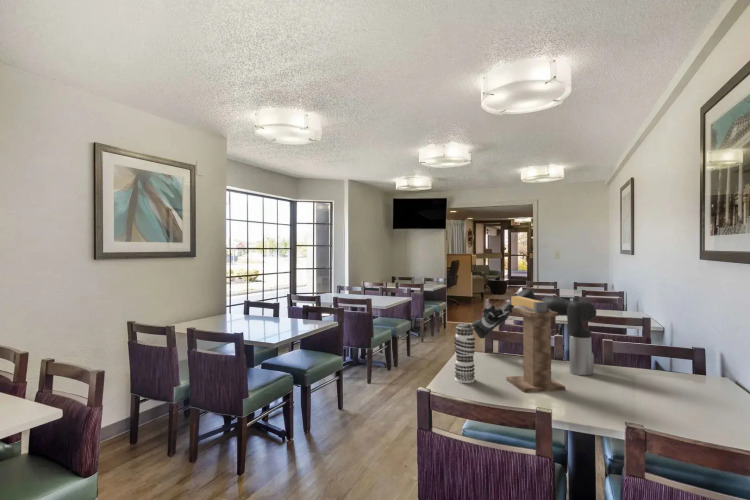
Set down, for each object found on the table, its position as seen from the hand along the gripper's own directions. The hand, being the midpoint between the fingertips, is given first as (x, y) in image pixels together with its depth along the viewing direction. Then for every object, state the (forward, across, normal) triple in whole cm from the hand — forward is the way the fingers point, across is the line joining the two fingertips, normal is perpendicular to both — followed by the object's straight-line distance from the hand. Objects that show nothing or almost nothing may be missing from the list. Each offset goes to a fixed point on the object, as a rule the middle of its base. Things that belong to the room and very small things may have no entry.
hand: (502, 306), depth 206 cm
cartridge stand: (+11, 0, -41) cm, 42 cm away
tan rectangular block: (+22, 0, -10) cm, 24 cm away
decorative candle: (+2, +27, -35) cm, 44 cm away
